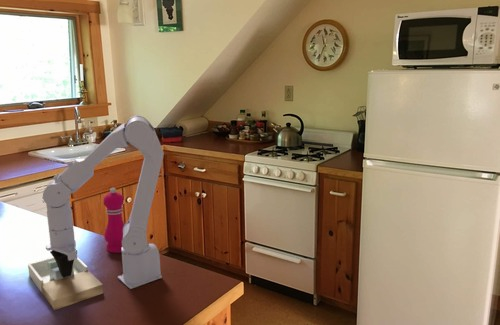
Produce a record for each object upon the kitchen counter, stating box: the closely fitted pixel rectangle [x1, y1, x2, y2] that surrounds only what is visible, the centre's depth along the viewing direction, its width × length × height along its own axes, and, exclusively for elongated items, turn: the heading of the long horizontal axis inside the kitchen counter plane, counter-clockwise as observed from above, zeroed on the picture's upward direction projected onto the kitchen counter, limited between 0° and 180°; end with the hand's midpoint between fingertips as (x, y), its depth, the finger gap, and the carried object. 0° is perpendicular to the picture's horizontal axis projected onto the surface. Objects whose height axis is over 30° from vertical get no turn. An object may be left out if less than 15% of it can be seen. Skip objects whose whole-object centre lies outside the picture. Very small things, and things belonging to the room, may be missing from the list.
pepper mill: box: [103, 187, 125, 254], centre depth 136 cm, size 7×7×20 cm
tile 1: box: [47, 260, 58, 280], centre depth 119 cm, size 4×4×2 cm
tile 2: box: [50, 267, 74, 280], centre depth 116 cm, size 4×4×2 cm
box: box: [27, 256, 89, 293], centre depth 120 cm, size 12×12×4 cm
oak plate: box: [41, 269, 104, 311], centre depth 112 cm, size 12×10×2 cm
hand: (66, 275), depth 114 cm, fingers closed
